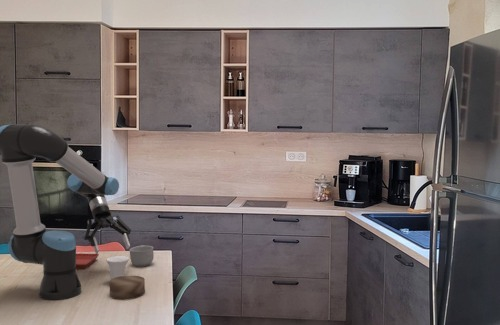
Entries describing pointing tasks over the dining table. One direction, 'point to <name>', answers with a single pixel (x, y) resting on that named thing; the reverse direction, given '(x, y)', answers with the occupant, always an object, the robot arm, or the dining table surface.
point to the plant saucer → (85, 260)
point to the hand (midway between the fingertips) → (113, 249)
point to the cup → (117, 266)
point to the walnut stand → (127, 287)
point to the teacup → (141, 255)
